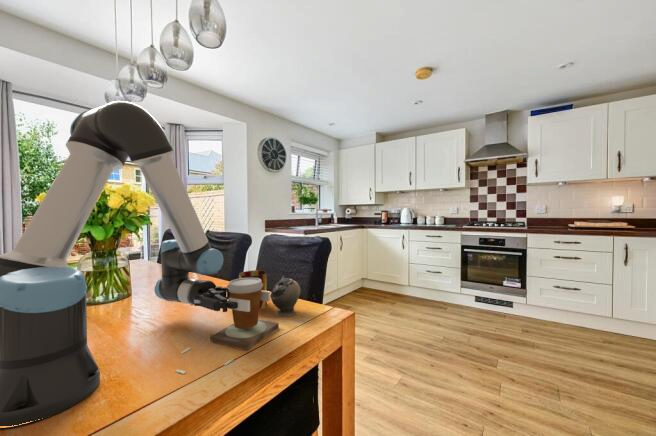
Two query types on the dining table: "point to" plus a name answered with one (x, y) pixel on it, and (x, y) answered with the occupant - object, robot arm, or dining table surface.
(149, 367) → the dining table surface
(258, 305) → the disposable coffee cup
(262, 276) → the mug
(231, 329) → the board
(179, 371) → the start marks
